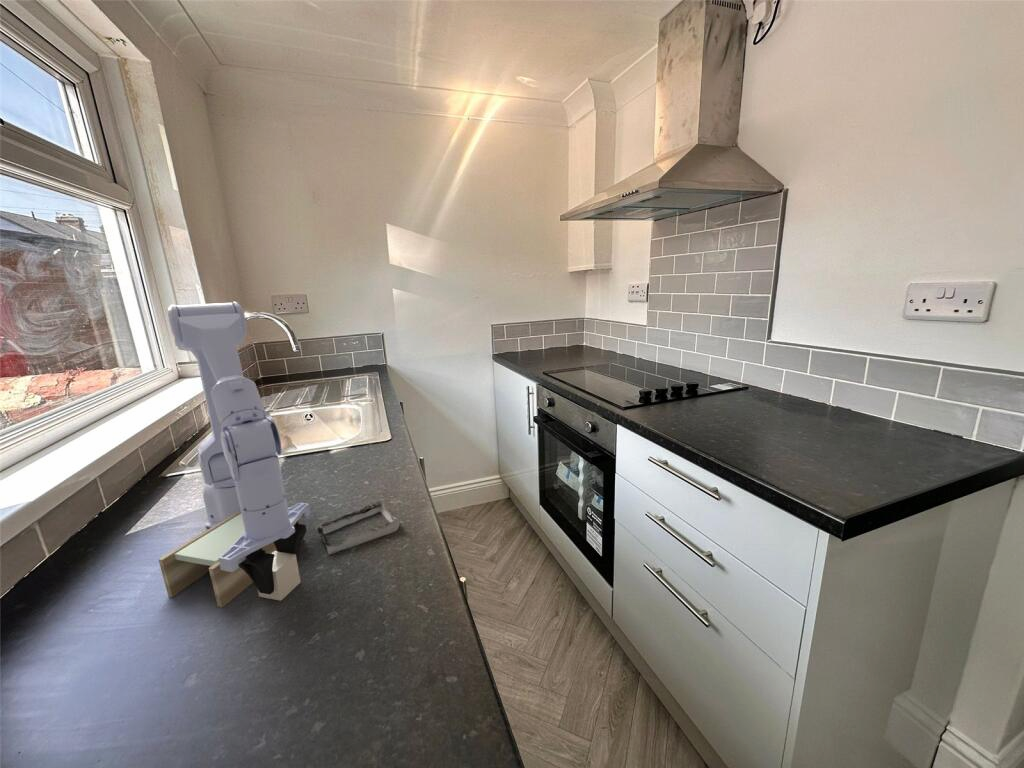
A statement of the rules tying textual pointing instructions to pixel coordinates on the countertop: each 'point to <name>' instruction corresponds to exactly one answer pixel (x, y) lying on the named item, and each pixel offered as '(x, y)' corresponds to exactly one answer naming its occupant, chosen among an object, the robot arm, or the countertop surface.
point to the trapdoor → (213, 543)
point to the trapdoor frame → (188, 572)
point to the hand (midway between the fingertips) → (278, 581)
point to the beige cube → (283, 575)
